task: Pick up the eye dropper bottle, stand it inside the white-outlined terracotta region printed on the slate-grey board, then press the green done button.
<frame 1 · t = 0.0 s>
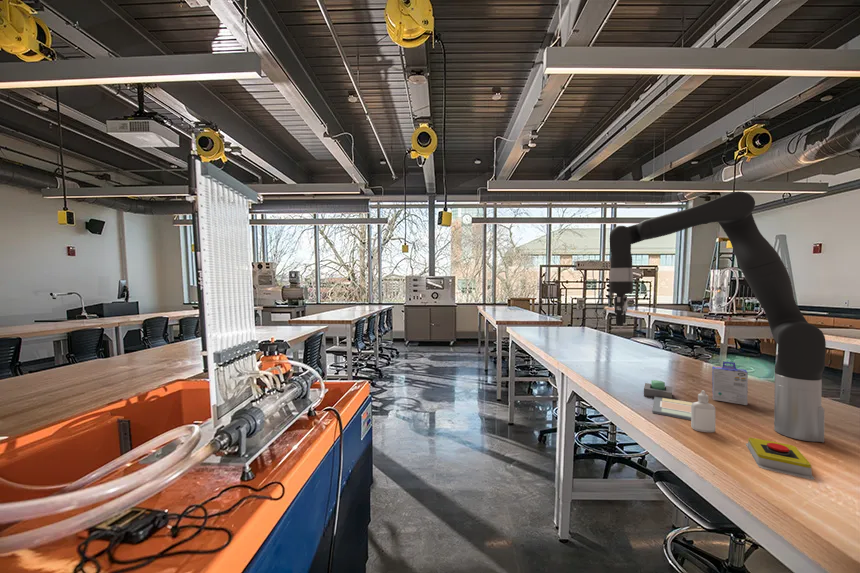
hand: (621, 324, 123), 29 cm above the lab bench, tool pointing down, fingers open, 8 cm apart
ink cartridge box: (729, 401, 125), on the lab bench
eye dropper bottle: (703, 430, 100), on the lab bench
colouring board: (677, 409, 117), on the lab bench
done button: (658, 385, 132), point 4 cm above the lab bench, slide at 0.0 cm
emergency button: (776, 462, 83), on the lab bench
done button housing: (658, 395, 132), on the lab bench
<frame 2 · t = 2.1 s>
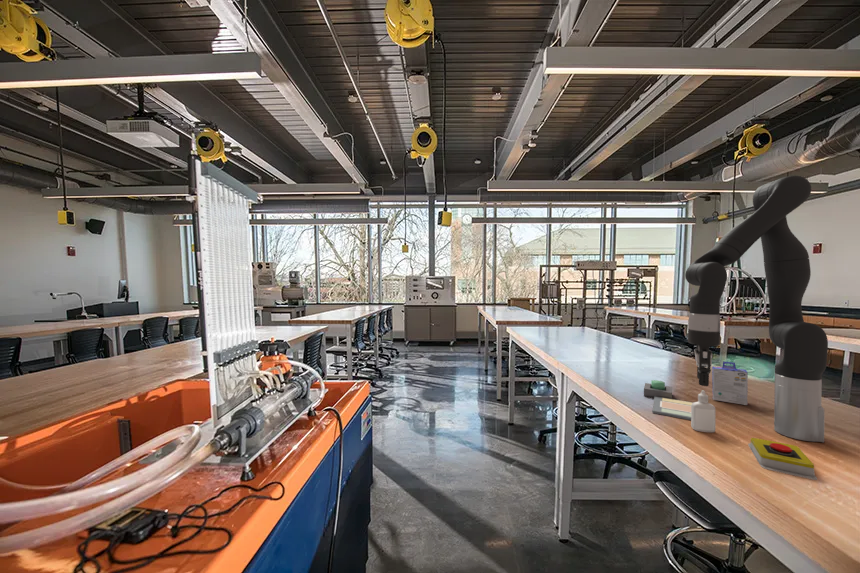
hand: (702, 382, 100), 14 cm above the lab bench, tool pointing down, fingers open, 8 cm apart
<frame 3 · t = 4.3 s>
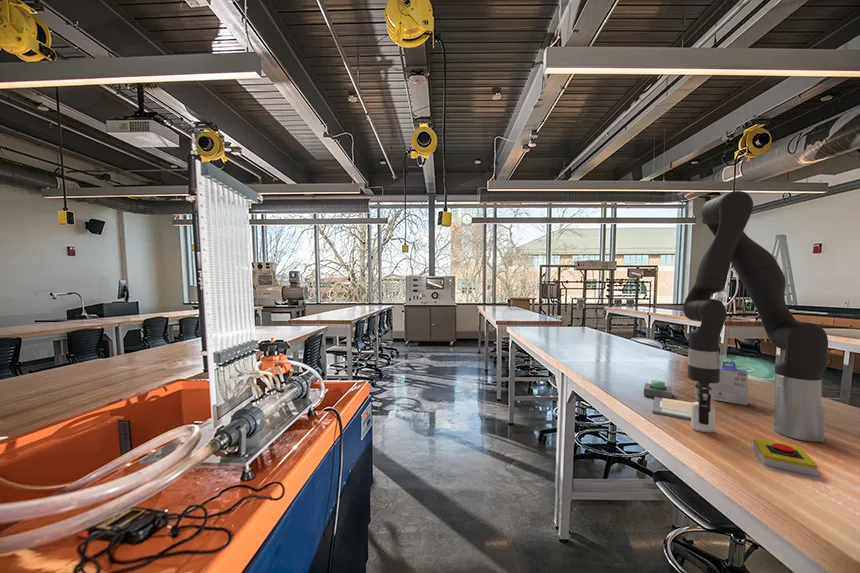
hand: (703, 421, 100), 3 cm above the lab bench, tool pointing down, fingers closed on eye dropper bottle, 3 cm apart
eye dropper bottle: (703, 430, 100), on the lab bench, touching gripper
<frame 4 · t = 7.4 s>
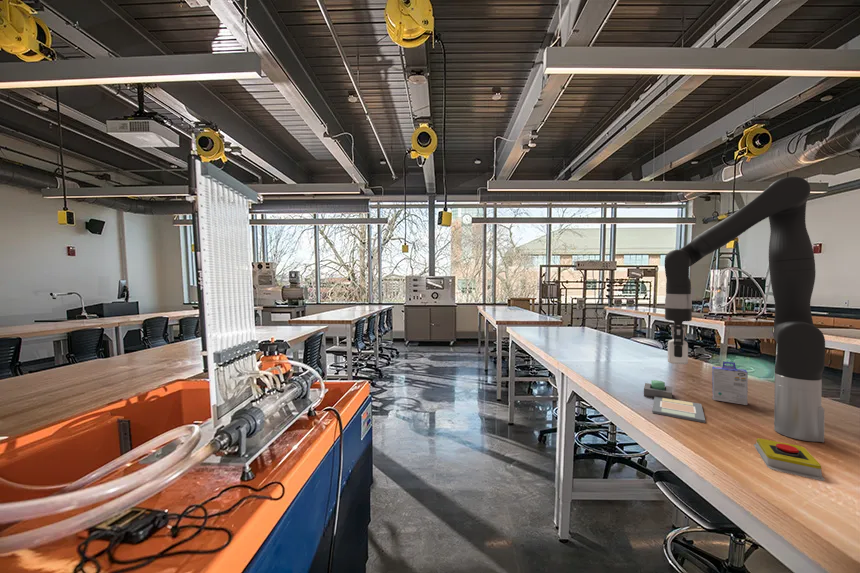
hand: (678, 355, 117), 19 cm above the lab bench, tool pointing down, fingers closed on eye dropper bottle, 3 cm apart
eye dropper bottle: (677, 363, 117), point 16 cm above the lab bench, touching gripper
when the fingers open (5 cm above the lab bench, at t = 10.7 s): eye dropper bottle drops 1 cm, resting on colouring board.
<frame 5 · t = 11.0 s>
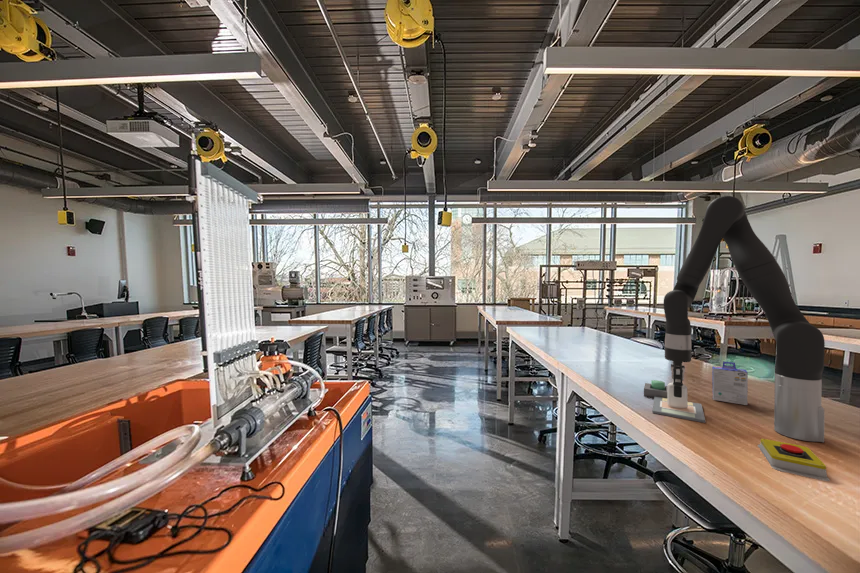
hand: (677, 394, 117), 5 cm above the lab bench, tool pointing down, fingers open, 6 cm apart
eye dropper bottle: (677, 407, 117), point 1 cm above the lab bench, touching colouring board
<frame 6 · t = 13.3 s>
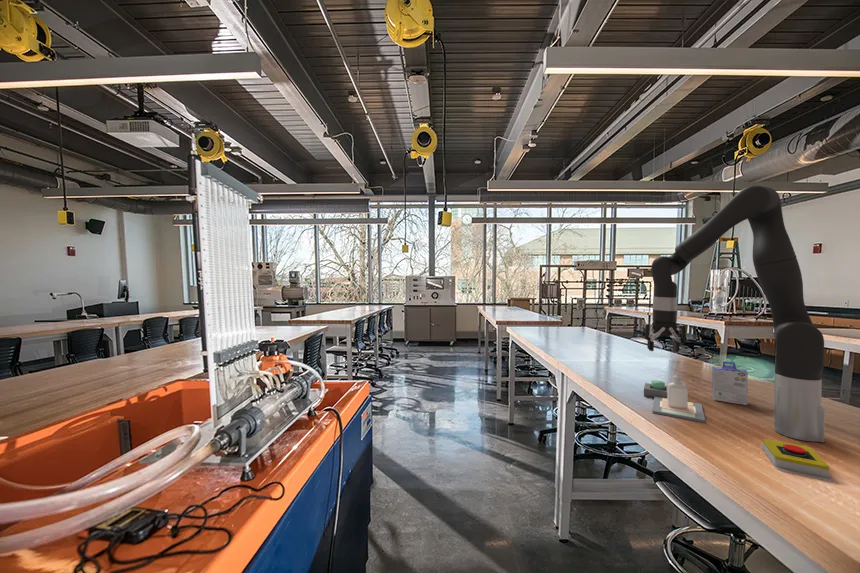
hand: (663, 351, 127), 18 cm above the lab bench, tool pointing down, fingers open, 8 cm apart
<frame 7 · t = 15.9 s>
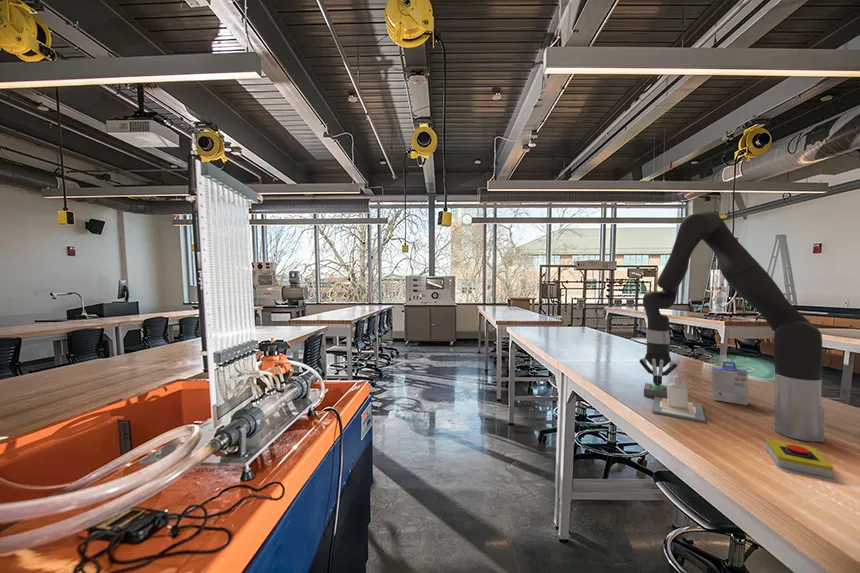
hand: (657, 384, 132), 4 cm above the lab bench, tool pointing down, fingers closed
done button: (658, 388, 132), point 3 cm above the lab bench, slide at 1.2 cm, touching gripper
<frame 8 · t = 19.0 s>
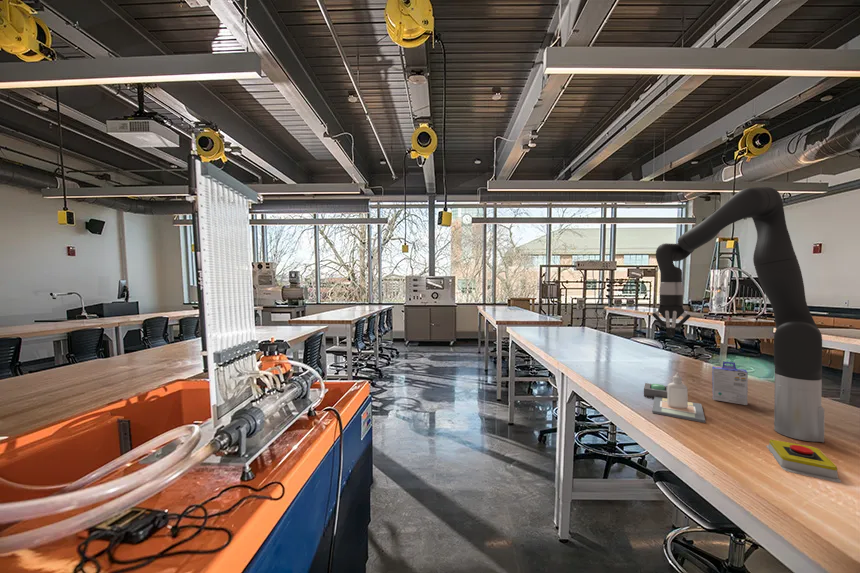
hand: (670, 337, 132), 23 cm above the lab bench, tool pointing down, fingers closed
done button: (658, 389, 132), point 2 cm above the lab bench, slide at 1.4 cm
at the end: eye dropper bottle 0.1 cm off-centre on the colouring board, point 0.7 cm above the colouring board's base; eye dropper bottle tilted 0°; done button slide at 1.4 cm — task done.
